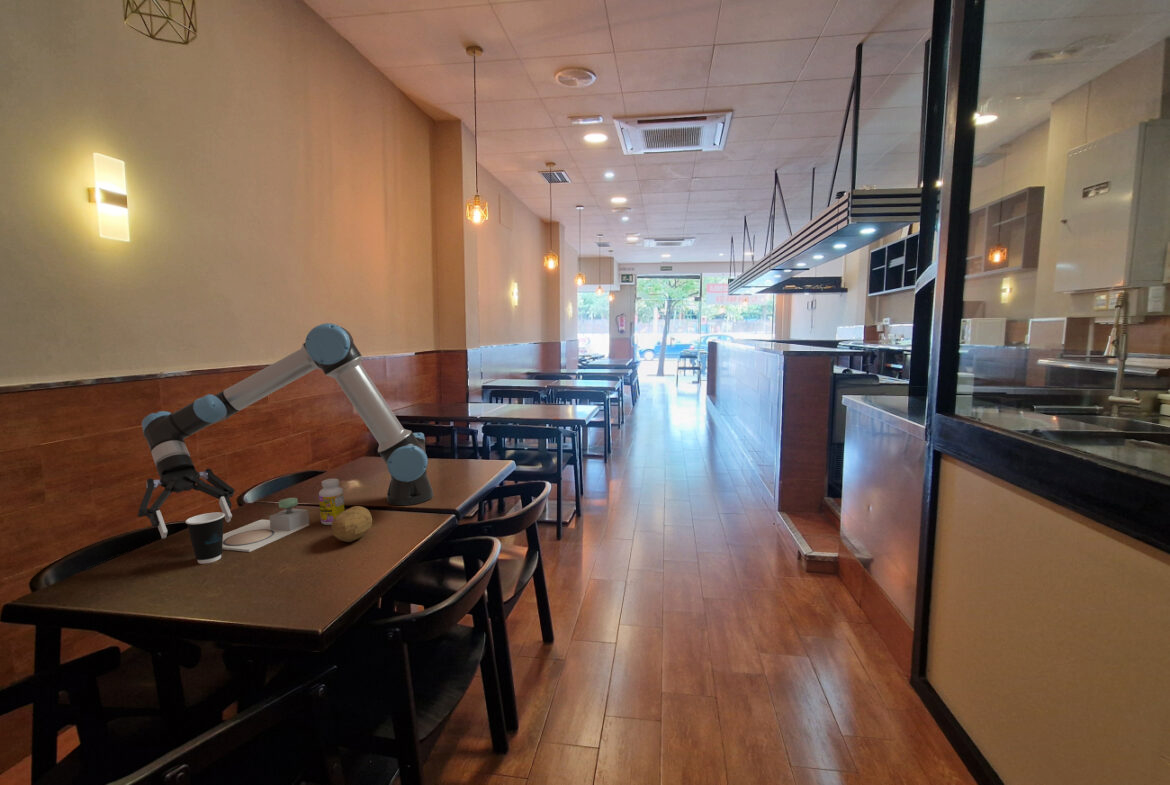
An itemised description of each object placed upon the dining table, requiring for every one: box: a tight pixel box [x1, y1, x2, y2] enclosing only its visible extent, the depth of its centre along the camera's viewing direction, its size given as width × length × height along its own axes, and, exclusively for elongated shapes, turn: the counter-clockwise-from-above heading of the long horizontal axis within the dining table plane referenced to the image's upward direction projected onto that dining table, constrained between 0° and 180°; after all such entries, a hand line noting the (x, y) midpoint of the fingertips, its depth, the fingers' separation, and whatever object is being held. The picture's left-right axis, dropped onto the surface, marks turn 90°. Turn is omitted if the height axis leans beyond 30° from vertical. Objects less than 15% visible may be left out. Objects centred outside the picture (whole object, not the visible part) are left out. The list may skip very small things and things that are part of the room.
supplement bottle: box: [318, 478, 346, 526], centre depth 153 cm, size 7×7×13 cm
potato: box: [330, 505, 373, 543], centre depth 139 cm, size 10×14×8 cm
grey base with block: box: [222, 508, 310, 553], centre depth 144 cm, size 18×20×5 cm
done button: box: [278, 497, 298, 514], centre depth 149 cm, size 5×5×6 cm
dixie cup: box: [185, 511, 225, 565], centre depth 128 cm, size 8×8×11 cm
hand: (198, 527), depth 128 cm, fingers open, 13 cm apart
